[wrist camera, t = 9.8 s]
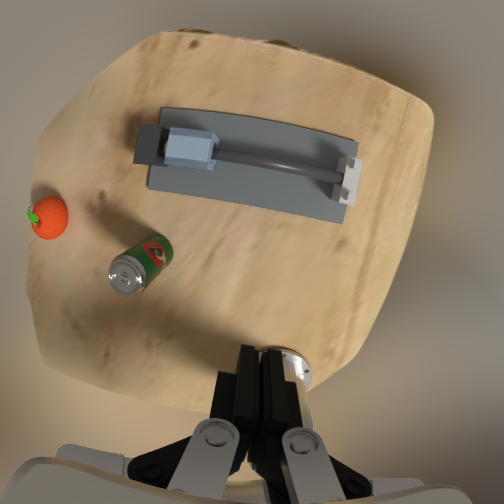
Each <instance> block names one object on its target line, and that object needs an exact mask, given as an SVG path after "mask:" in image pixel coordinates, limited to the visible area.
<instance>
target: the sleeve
mask: <svg viewBox="0 0 504 504" xmlns="http://www.w3.org/2000/svg"><path fill="white" fill-rule="evenodd" d="M219 143H220V139H219V138H218V137H217V136H216V135H215V134H214V133H213V132H211V131H203V130H194V129H184V128H173V127H171V128H170V133H169V138H168V143H167V149H166V154H165V160H164V164H167V165H174V166H182V167H189V168H197V169H204V170H210V171H214V169H215V164H216V160H213V159H211V156H212V150H213V147H218V148H219Z"/></svg>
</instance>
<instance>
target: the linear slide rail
mask: <svg viewBox="0 0 504 504" xmlns="http://www.w3.org/2000/svg"><path fill="white" fill-rule="evenodd" d="M171 127H173V128H184V129H194V130H203V131H211V132H213V133H214V134H215V135H216V136H217V137H218V138H219V139H220V143H219V148H218V147H213V150H212V156H211V159H213V160H216V164H215V169H214V171H210V170H204V169H197V168H189V167H182V166H174V165H167V164H164V160H165V154H166V149H167V143H168V138H169V133H170V128H171ZM357 149H358V142H355V141H352V140H348V139H345V138H341V137H338V136H334V135H330V134H327V133H323V132H319V131H315V130H311V129H307V128H302V127H298V126H293V125H289V124H284V123H279V122H274V121H269V120H263V119H257V118H251V117H245V116H239V115H232V114H224V113H216V112H207V111H197V110H185V109H171V108H162V112H161V117H160V121H159V126H153V125H140V127H139V132H138V137H137V142H136V148H135V154H134V160H133V163H134V164H144V165H151V170H150V177H149V184H148V189H150V190H157V191H164V192H171V193H178V194H185V195H191V196H197V197H204V198H210V199H216V200H222V201H228V202H233V203H239V204H245V205H250V206H256V207H261V208H266V209H271V210H277V211H282V212H287V213H292V214H297V215H301V216H306V217H311V218H316V219H320V220H325V221H330V222H334V223H339V224H343V220H344V215H345V211H346V206H347V204H348V205H352V206H354V202H355V197H356V192H357V187H358V182H359V177H360V172H361V166H362V161H363V160H361V159H357V158H356V155H357Z"/></svg>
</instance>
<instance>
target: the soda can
mask: <svg viewBox="0 0 504 504" xmlns="http://www.w3.org/2000/svg"><path fill="white" fill-rule="evenodd" d="M172 258H173V249H172V246H171V244H170V242H169V241H168V240H167V239H166V238H164V237H162V236H159V235H154V236H150V237H148V238H147V239H145V240H143V241H142V242H140V243H138V244H137V245H135V246H133V247H131V248H130V249H128V250H126V251H125V252H123V253H122V254H120V255H118V256H117V257H115V258H114V260H113V261H112V263H111V265H110V268H109V272H108V278H109V281H110V284H111V286H112V287H113V289H114V290H115V291H116V292H118V293H119V294H121V295H124V296H132V295H138V294H140V293H141V292H142V291H144V289H145V288H146V287H147V286H148V285H149V284H150V283H151V282H152V281H153V280H154V279H155V278H156V277H157V276H158V275H159V274H160V273H161V272H162V271H163V270H164V269H165V268H166V267H167V266H168V265H169V264H170V262H171V261H172Z"/></svg>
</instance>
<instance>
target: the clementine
mask: <svg viewBox="0 0 504 504" xmlns="http://www.w3.org/2000/svg"><path fill="white" fill-rule="evenodd" d="M29 208H30V207H29ZM28 216H29V219H30V220H31V223H32V227H33V230H34V231H35V233H36V234H37V235H38V236H39V237H41V238H43V239H47V240H50V239H55V238H57V237H58V236H60V235H61V234H62V233H63V232H64V230H65V229H66V227H67V223H68V211H67V209H66V207H65V205H64V203H63V202H62V201H60V200H59V199H57V198H53V197H47V198H44V199H42V200H41V201H39V202H38V203H37V204H36V206H35V207H34V209H33V212H31V211H30V210H29V209H28Z"/></svg>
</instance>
